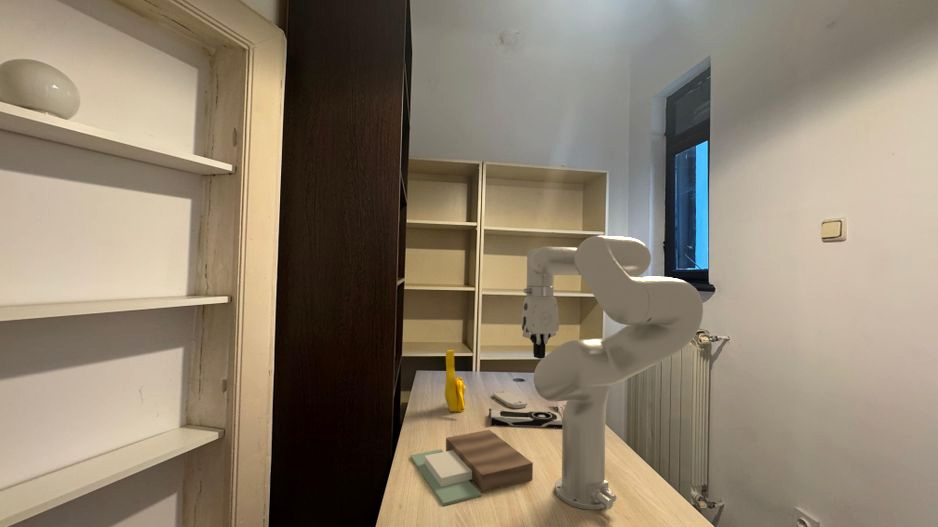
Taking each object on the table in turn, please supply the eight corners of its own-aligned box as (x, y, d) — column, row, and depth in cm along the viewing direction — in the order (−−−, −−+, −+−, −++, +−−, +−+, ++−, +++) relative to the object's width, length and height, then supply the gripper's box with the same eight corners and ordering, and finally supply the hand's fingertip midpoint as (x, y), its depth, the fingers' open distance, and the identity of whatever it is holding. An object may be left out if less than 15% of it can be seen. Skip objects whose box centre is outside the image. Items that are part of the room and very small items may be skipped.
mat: (480, 496, 87) (480, 493, 87) (443, 505, 83) (443, 503, 83) (441, 451, 108) (441, 449, 108) (410, 457, 104) (410, 455, 104)
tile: (472, 479, 92) (472, 470, 93) (441, 486, 89) (441, 478, 89) (452, 457, 103) (452, 450, 103) (424, 463, 100) (424, 455, 100)
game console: (530, 401, 146) (511, 404, 143) (530, 408, 146) (511, 410, 143) (507, 388, 162) (490, 390, 159) (507, 394, 162) (490, 396, 159)
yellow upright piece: (469, 418, 134) (470, 355, 134) (446, 419, 132) (448, 355, 133) (461, 401, 151) (462, 345, 152) (442, 402, 150) (443, 345, 150)
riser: (532, 479, 94) (532, 462, 94) (482, 492, 88) (482, 475, 88) (489, 443, 114) (489, 429, 114) (445, 452, 108) (446, 437, 108)
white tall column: (571, 390, 149) (581, 413, 124) (571, 406, 149) (581, 431, 124) (555, 389, 150) (562, 412, 125) (555, 405, 150) (562, 430, 125)
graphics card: (488, 407, 137) (559, 410, 135) (488, 417, 136) (559, 420, 135) (488, 418, 127) (564, 421, 125) (488, 428, 126) (564, 431, 125)
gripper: (525, 293, 102) (524, 362, 101) (569, 293, 108) (569, 358, 108) (510, 292, 108) (509, 357, 108) (552, 291, 115) (552, 353, 114)
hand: (539, 357), depth 108 cm, fingers closed
